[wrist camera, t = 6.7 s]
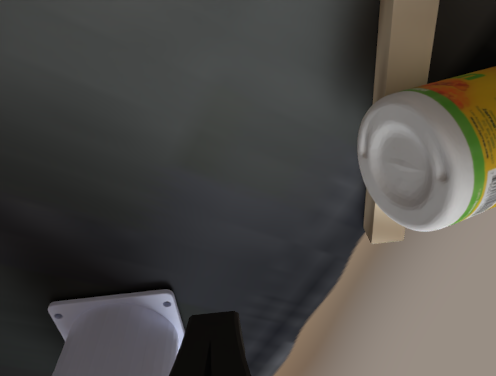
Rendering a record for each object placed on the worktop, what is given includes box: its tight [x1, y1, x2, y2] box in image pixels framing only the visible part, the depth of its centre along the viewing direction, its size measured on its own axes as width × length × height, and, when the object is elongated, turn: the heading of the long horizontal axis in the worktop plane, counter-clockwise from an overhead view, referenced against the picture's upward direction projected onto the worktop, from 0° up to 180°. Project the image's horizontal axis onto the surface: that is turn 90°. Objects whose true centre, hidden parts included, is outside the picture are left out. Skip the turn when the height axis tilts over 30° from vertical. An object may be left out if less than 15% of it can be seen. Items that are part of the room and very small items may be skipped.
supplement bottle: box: [357, 66, 496, 232], centre depth 16 cm, size 5×5×10 cm
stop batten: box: [363, 0, 439, 244], centre depth 19 cm, size 13×2×2 cm, turn 6°
